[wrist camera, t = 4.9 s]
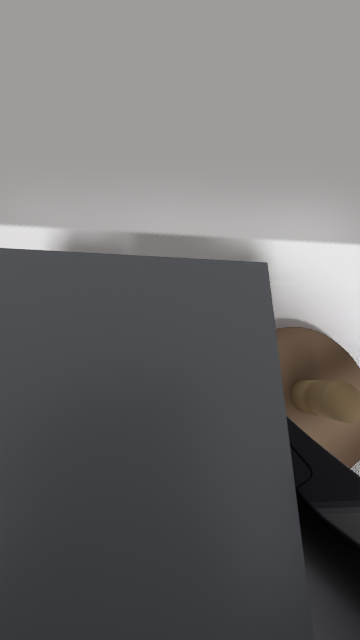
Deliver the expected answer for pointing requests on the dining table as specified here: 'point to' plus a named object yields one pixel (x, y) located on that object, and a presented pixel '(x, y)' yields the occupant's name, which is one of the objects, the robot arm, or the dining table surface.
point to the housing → (144, 452)
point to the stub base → (319, 367)
